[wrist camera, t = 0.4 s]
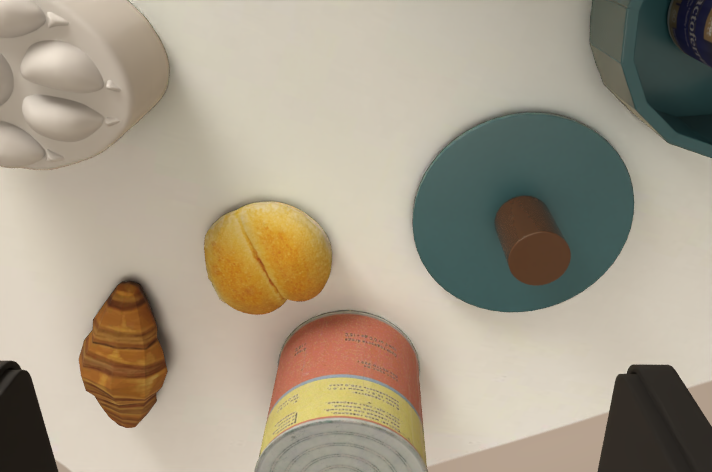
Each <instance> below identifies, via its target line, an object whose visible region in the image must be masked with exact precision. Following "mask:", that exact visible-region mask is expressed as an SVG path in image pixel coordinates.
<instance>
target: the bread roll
mask: <svg viewBox="0 0 712 472" xmlns="http://www.w3.org/2000/svg"><path fill="white" fill-rule="evenodd" d="M204 250H205V252H204V253H205V262H206V270H207V273H208V278H209V280H210V281H211V282H212V285H213V287H214V289H215V291H216V292H217V294H218V297H219V298H220V299H221V301H223V302H224V303H227V304H228V305H229V306H231V307H232V308H234V309H236V310H238V311H241V312H244V313H248V314H255V315H258V314H266V313H270V312H272V311H274V310H276V309H277V308H279V307H280V306H282V305H283V304H284V303H285V302H286V300H287V299H288V300H293V301H306V300H309V299H312V298H314V297H315V296H317V295H318V294H319V293H320V292H321V291H322V289H323V288H324V286H325V284H326V282H327V280H328V278H329V275H330V271H331V263H332V250H331V244H330V242H329V240H328V237H327V235H326V233H325V232H324V230H323V229H322V228H321V226H320V225H319V224H318V223H317V222H316V221H315V220H313V219H312V218H311V217H310V216H308V215H307V214H306V213H304V212H303V211H301V210H299V209H297V208H295V207H293V206H290V205H288V204H284V203H280V202H273V201H268V202H256V203H251V204H247V205H246V206H243V207H241V208H239V209H238V210H235V211H232V212H229V213H227V214H225V215H223V216H222V217H221V218H220V219H218V220H217V221H216V222H215V223H214V224H213V225H212V226H211V227H210V229H209V230H208V231H207V233H206V235H205V240H204Z"/></svg>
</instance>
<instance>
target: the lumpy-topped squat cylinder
mask: <svg viewBox="0 0 712 472" xmlns="http://www.w3.org/2000/svg"><path fill="white" fill-rule="evenodd" d="M168 82H169V62H168V58H167V55H166V52H165V49H164V47H163V45H162V43H161V41H160V39H159V37H158V36H157V34H156V32H155V31H154V29H153V28H152V26H151V25H150V23H149V22H148V20H147V19H146V18H145V17H144V16H143V15H142V14H141V13H140V12H139V11H138V10H137V9H136V8H135V7H134V6H133V5H132V4H131V3H130V2H129V1H128V0H0V166H1V167H6V168H27V169H34V170H51V169H57V168H61V167H65V166H69V165H72V164H75V163H78V162H81V161H84V160H87V159H89V158H92V157H94V156H96V155H98V154H100V153H102V152H103V151H105V150H106V149H108V148H109V147H110V146H111V145H113V144H114V143H115V142H116V141H117V140H118V139H119V138H121V137H122V136H123V135H124V134H125V133H126V132H127V131H128V130H129V129H130V128H131V127H133V126H134V125H135V124H136V123H137V122H138V121H139V120H140V119H141V118H142V117H143V116H144V115H145V114H147V113H148V112H149V111H150V110H151V109H152V108H153V107H154V106H155V105H156V104H157V103H158V102H159V100H160V99H161V98H162V96H163V95H164V93H165V91H166V89H167V86H168Z"/></svg>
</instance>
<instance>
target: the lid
mask: <svg viewBox="0 0 712 472" xmlns="http://www.w3.org/2000/svg"><path fill="white" fill-rule="evenodd" d="M633 214H634V195H633V187H632V183H631V179H630V175H629V173H628V171H627V169H626V166H625V164H624V162H623V161H622V159H621V158H620V156H619V154H618V153H617V152H616V150H615V149H614V148H613V147H612V146H611V145H610V144H609V143H608V141H607V140H605V139H604V138H603V137H602V136H601V135H599V134H598V133H597V132H596V131H594V130H593V129H591V128H589V127H588V126H586V125H584V124H582V123H580V122H578V121H575V120H573V119H571V118H567V117H563V116H560V115H556V114H548V113H518V114H510V115H506V116H502V117H498V118H494V119H492V120H489V121H487V122H484V123H481V124H479V125H477V126H475V127H474V128H472V129H470V130H468V131H466V132H465V133H463V134H462V135H460V136H459V137H458V138H456V139H455V140H453V141H452V142H451V143H450V144H449V145H448V146H447V147H446V148H445V149H443V150H442V152H441V153H440V154H439V155H438V156H437V157H436V159H435V160H434V161H433V162H432V164H431V165H430V167H429V168H428V170H427V171H426V173H425V175H424V177H423V179H422V181H421V183H420V185H419V188H418V191H417V194H416V197H415V202H414V208H413V222H412V224H413V233H414V240H415V244H416V248H417V251H418V253H419V256H420V258H421V260H422V262H423V264H424V266H425V267H426V269H427V271H428V272H429V273H430V275H431V276H432V277H433V278H434V279H435V281H436V282H437V283H438V284H439V285H441V286H442V287H443V288H444V289H445V290H446V291H448V292H449V293H451V294H452V295H453V296H455V297H456V298H458V299H460V300H462V301H464V302H466V303H468V304H471V305H474V306H477V307H479V308H484V309H488V310H492V311H500V312H525V311H533V310H538V309H543V308H547V307H550V306H553V305H556V304H559V303H561V302H563V301H566V300H568V299H570V298H572V297H574V296H576V295H577V294H579V293H581V292H582V291H584V290H585V289H587V288H588V287H589V286H591V285H592V284H593V283H595V282H596V281H597V280H598V279H599V278H600V277H601V276H602V275H603V274H604V273H605V272H606V271H607V270H608V269H609V267H610V266H611V265H612V264H613V263H614V261H615V260H616V258H617V257H618V255H619V254H620V252H621V250H622V248H623V246H624V244H625V242H626V240H627V237H628V235H629V232H630V229H631V224H632V219H633Z"/></svg>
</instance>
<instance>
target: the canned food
mask: <svg viewBox="0 0 712 472" xmlns="http://www.w3.org/2000/svg"><path fill="white" fill-rule="evenodd" d="M255 472H428V470H427V464H426V453H425V441H424V430H423V418H422V407H421V395H420V383H419V361H418V356H417V353H416V351H415V349H414V346H413V345H412V343H411V341H410V340H409V339H408V338H407V336H406V335H405V334H404V333H403V332H402V331H401V330H400V329H398V328H397V327H396V326H394V325H393V324H392V323H390V322H388V321H386V320H384V319H382V318H380V317H377V316H375V315H371V314H368V313H363V312H356V311H337V312H331V313H326V314H322V315H320V316H317V317H314V318H312V319H310V320H308V321H306V322H305V323H303V324H302V325H300V326H299V327H298V328H297V329H295V330H294V331H293V332H292V333H291V334H290V336H289V337H288V338H287V340H286V341H285V343H284V345H283V347H282V349H281V352H280V355H279V361H278V371H277V375H276V380H275V385H274V389H273V394H272V399H271V404H270V408H269V413H268V418H267V422H266V427H265V432H264V436H263V441H262V446H261V450H260V455H259V459H258V461H257V464H256V467H255Z"/></svg>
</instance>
